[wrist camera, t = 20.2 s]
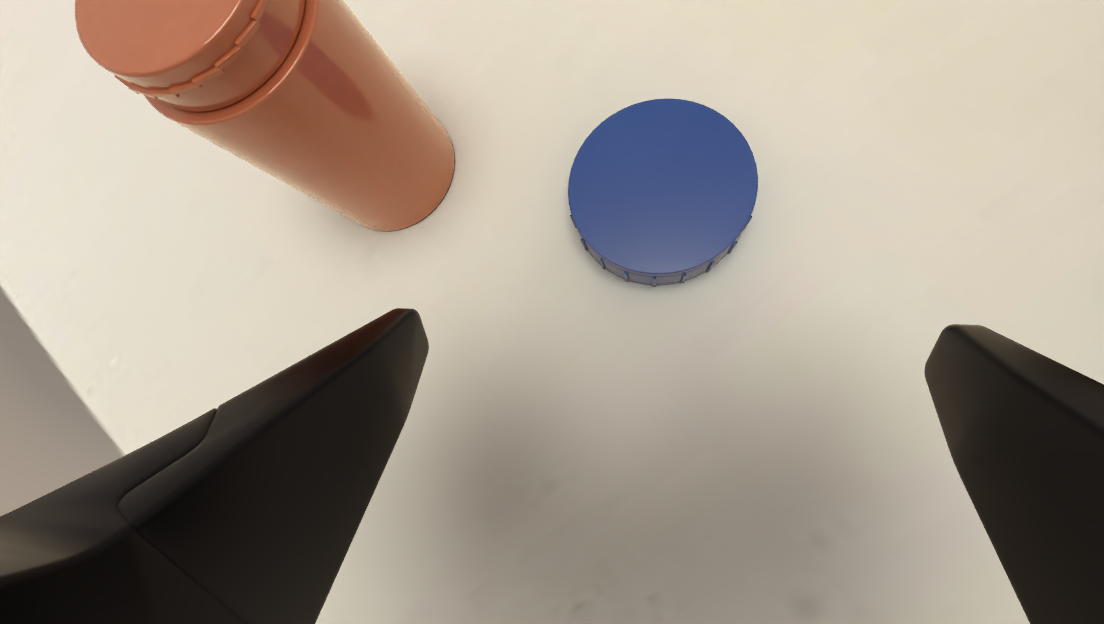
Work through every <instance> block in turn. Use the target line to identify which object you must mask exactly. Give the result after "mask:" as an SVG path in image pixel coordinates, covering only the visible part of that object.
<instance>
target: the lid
mask: <svg viewBox="0 0 1104 624" xmlns="http://www.w3.org/2000/svg"><path fill="white" fill-rule="evenodd" d="M757 190H758V175H757V168H756V163H755V160H754V156H753V153H752V151H751V149H750V147H749V145H748V143H747V141H746V139H745V138H744V136H743V135H742V134H741V132H740V131H739V130H738V129H737V128H736V127H735V125H734V124H733V123H731V122H730V121H729V120H728V119H727V118H725V117H724V116H723V115H721V114H720V113H718V112H716V111H715V110H713V109H711V108H709V107H706V106H704V105H701V104H698V103H695V102H692V101H686V100H681V99H655V100H650V101H644V102H641V103H637V104H634V105H631V106H629V107H627V108H624V109H622V110H620V111H618V112H617V113H615V114H613V115H611V116H610V117H609V118H607V119H606V120H605V121H603V122H602V123H601V124H600V125H599V126H598V127H597V128H595V129H594V130H593V132H592V133H591V134H590V135H589V136H588V137H587V139H586V140H585V142H584V143H583V145H582V146H581V148H580V149H579V151H578V153H577V155H576V157H575V160H574V162H573V165H572V168H571V172H570V177H569V186H568V197H569V205H570V210H571V214H572V215H570V216H571V219H572V221H573V223H574V225H575V227H576V228H577V229H578V232H579V234H580V236H581V238H582V239H581V241H582V243H583V245H584V248H585V250H586V251H587V250H589V252H590V253H591V254H592V256H593V257H594V258H595V259H596V260H597V261H598V262H599V263H600V264H601V266H602V268H603V269H605V268H606V269H608V270H609V271H611V272H612V273H614V274H616V275H618V276H620V277H622V278H625V281H627V282H628V281H629V280H630V281H634V282H637V283H643V284H650V285H653V286H655V285H663V284H673V283H677V282H681V283H684V281H685V280H688V279H691V278H693V277H696V276H698V275H700V274H701V273H703V272H705V271H707V272H709V271H710V270H711V268H712V267H713V266H714V265H715V264H717V263H718V262H719V261H720V260H721V259H722V258H723V257H724V256H725V255H726V254H727V253H729V254H730V253H731V251H732V250H733V248H734V246H735V245H736V243H737V241H736V240H737V238H738V237H739V235H740V234H741V232H742V231H743V230H744V229H745V227H746V226H747V224H748V223H749V221H750V220H751V218H752V216H751V214H752V211H753V208H754V205H755V201H756V196H757Z"/></svg>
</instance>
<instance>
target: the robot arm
mask: <svg viewBox="0 0 1104 624" xmlns="http://www.w3.org/2000/svg"><path fill="white" fill-rule="evenodd" d="M428 348H429V345H428V339H427V336H426V333H425V330H424V327H423V324H422V321H421V318H420V315H419V313H418V312H417V311H416V310H414V309H401V308H397V309H394V310H392V311H390V312H388V313H386V314H384V315H383V316H381V317H379V318H377V319H375V320H373V321H372V322H370V323H368V324H366V325H364V326H363V327H361V328H359V329H357V330H355V331H354V332H352V333H350V334H348V335H346V336H345V337H343V338H341V339H339V340H337V341H335V342H334V343H332V344H330V345H328V346H326V347H325V348H323V349H321V350H319V351H317V352H316V353H314V354H312V355H310V356H308V357H307V358H305V359H303V360H301V361H299V362H297V363H296V364H294V365H292V366H290V367H288V368H287V369H285V370H283V371H281V372H279V373H278V374H276V375H274V376H272V377H270V378H269V379H267V380H265V381H263V382H261V383H259V384H258V385H256V386H254V387H252V388H250V389H249V390H247V391H245V392H243V393H241V394H240V395H238V396H236V397H234V398H232V399H231V400H229V401H227V402H225V403H223V404H222V405H220V406H219V407H218V409H212V410H210V411H209V412H207V413H205V414H203V415H201V416H200V417H198V418H196V419H194V420H192V421H191V422H189V423H187V424H185V425H183V426H181V427H179V428H177V429H176V430H174V431H172V432H170V433H168V434H166V435H164V436H163V437H161V438H159V439H157V440H155V441H153V442H151V443H149V444H147V445H145V446H143V447H141V448H139V449H137V450H135V451H133V452H131V453H129V454H127V455H125V456H123V457H121V458H119V459H117V460H116V461H113V462H112V463H110V464H107V465H105V466H103V467H101V468H99V469H97V470H95V471H93V472H92V473H89V474H87V475H85V476H83V477H81V478H79V479H77V480H75V481H73V482H71V483H69V484H67V485H65V486H63V487H61V488H59V489H57V490H55V491H53V492H51V493H49V494H47V495H45V496H42V497H40V498H38V499H37V500H34V501H32V502H30V503H28V504H26V505H24V506H22V507H20V508H18V509H16V510H14V511H12V512H9V513H8V514H5V515H3V516H1V517H0V624H315V623H316V620H317V618H318V616H319V614H320V611H321V609H322V607H323V605H324V603H325V600H326V598H327V596H328V594H329V591H330V589H331V587H332V585H333V582H334V580H335V578H336V576H337V573H338V571H339V569H340V567H341V565H342V562H343V560H344V558H345V556H346V553H347V551H348V549H349V547H350V544H351V542H352V540H353V538H354V535H355V533H356V531H357V529H358V527H359V524H360V522H361V520H362V518H363V515H364V513H365V511H366V509H367V506H368V504H369V502H370V500H371V497H372V495H373V493H374V491H375V489H376V486H377V484H378V482H379V480H380V477H381V475H382V473H383V471H384V468H385V466H386V464H387V462H388V459H389V457H390V455H391V453H392V451H393V448H394V446H395V444H396V442H397V439H398V437H399V435H400V433H401V430H402V428H403V426H404V423H405V421H406V419H407V416H408V413H409V410H410V407H411V404H412V401H413V398H414V395H415V392H416V389H417V385H418V382H419V379H420V376H421V373H422V370H423V367H424V364H425V360H426V357H427V354H428ZM925 378H926V381H927V384H928V387H929V390H930V393H931V396H932V399H933V402H934V405H935V408H936V411H937V414H938V417H939V420H940V423H941V426H942V429H943V432H944V435H945V438H946V441H947V444H948V447H949V450H950V453H951V456H952V458H953V461H954V463H955V466H956V468H957V470H958V472H959V475H960V477H961V479H962V481H963V483H964V485H965V488H966V490H967V492H968V494H969V496H970V498H971V500H972V502H973V504H974V507H975V509H976V511H977V513H978V515H979V517H980V519H981V521H982V523H983V525H984V528H985V530H986V532H987V534H988V536H989V538H990V540H991V542H992V544H993V547H994V549H995V551H996V553H997V555H998V557H999V559H1000V561H1001V563H1002V565H1003V568H1004V570H1005V572H1006V574H1007V576H1008V578H1009V580H1010V582H1011V584H1012V587H1013V589H1014V591H1015V593H1016V595H1017V597H1018V599H1019V601H1020V603H1021V605H1022V608H1023V610H1024V612H1025V614H1026V616H1027V618H1028V620H1029V622H1030V624H1104V385H1103V384H1101V383H1099V382H1097V381H1095V380H1093V379H1091V378H1089V377H1087V376H1085V375H1083V374H1081V373H1079V372H1076V371H1074V370H1072V369H1070V368H1068V367H1066V366H1064V365H1062V364H1060V363H1058V362H1056V361H1054V360H1052V359H1050V358H1048V357H1046V356H1044V355H1041V354H1039V353H1037V352H1035V351H1033V350H1031V349H1029V348H1027V347H1025V346H1023V345H1021V344H1019V343H1017V342H1015V341H1013V340H1011V339H1009V338H1006V337H1004V336H1002V335H1000V334H998V333H996V332H994V331H992V330H990V329H988V328H986V327H983V326H980V325H958V324H953V325H949V326H947V327H946V328H944V329H943V331H942V332H941V334H940V336H939V338H938V340H937V342H936V344H935V346H934V348H933V350H932V352H931V354H930V356H929V358H928V360H927V362H926V365H925Z"/></svg>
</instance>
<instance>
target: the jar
mask: <svg viewBox="0 0 1104 624" xmlns="http://www.w3.org/2000/svg"><path fill="white" fill-rule="evenodd" d="M75 21H76V28H77V31H78V34H79V38H80V40H81V42H82V44H83V46H84V48H85V49H86V51H87V52H88V53H89V55H90V56H91V57H92V58H93V59H94V60H95V61H96V62H97V63H98V64H99V65H100V66H102V67H103V68H105V69H106V70H108V71H110V72H111V73H113V74H115V77H116V78H117V79H118V80H120V81H121V82H122V83H124V84H125V85H126V86H127V87H129V89H131V90H132V91H134V92H136V93H138V94H139V93H140V94H143V95H144V96H145V97H146V98H147V100H148V101H149V102H150V104H151V105H152V106H153V107H154V108H155V109H156V110H157V111H158V112H160V113H161V114H163V115H164V116H166V117H167V118H169V119H171V120H172V121H174V122H176V123H178V124H180V125H181V126H183V127H185V128H187V129H189V130H190V131H192V132H194V133H196V134H198V135H200V136H201V137H203V138H205V139H207V140H209V141H210V142H212V143H214V144H216V145H218V146H219V147H221V148H223V149H225V150H227V151H228V152H230V153H232V154H234V155H236V156H238V157H239V158H241V159H243V160H245V161H247V162H248V163H250V164H252V165H254V166H256V167H257V168H259V169H261V170H263V171H265V172H266V173H268V174H270V175H272V176H274V177H275V178H277V179H279V180H281V181H283V182H285V183H286V184H288V185H290V186H292V187H294V188H295V189H297V190H299V191H301V192H303V193H304V194H306V195H308V196H310V197H312V198H313V199H315V200H317V201H319V202H321V203H323V204H324V205H326V206H328V207H330V208H332V209H333V210H335V211H337V212H339V213H341V214H342V215H344V216H346V217H348V218H350V219H351V220H353V221H355V222H357V223H359V224H360V225H362V226H365V227H367V228H370V229H373V230H379V231H394V230H400V229H403V228H407V227H409V226H411V225H414V224H416V223H417V222H419V221H421V220H422V219H424V218H425V217H426V216H428V215H429V214H430V213H431V212H432V211H433V210H434V209H435V208H436V207H437V206H438V204H439V203H440V202H441V201H442V199H443V197H444V196H445V194H446V192H447V190H448V188H449V186H450V183H451V180H452V176H453V172H454V150H453V145H452V142H451V139H450V137H449V135H448V133H447V131H446V130H445V128H444V127H443V126H442V124H441V123H440V122H439V121H438V119H437V118H436V117H435V116H434V114H433V113H432V112H431V111H430V109H429V108H428V107H427V105H426V104H425V103H424V102H423V100H422V99H421V98H420V97H419V95H418V94H417V93H416V92H415V90H414V89H413V88H412V87H411V85H410V84H409V83H408V82H407V80H406V79H405V78H404V77H403V75H402V74H401V73H400V71H399V70H398V69H397V68H396V66H395V65H394V64H393V63H392V61H391V60H390V59H389V58H388V56H387V55H386V54H385V53H384V51H383V50H382V49H381V48H380V46H379V45H378V44H377V43H376V41H375V40H374V39H373V37H372V36H371V35H370V34H369V32H368V31H367V30H366V29H365V27H364V26H363V25H362V24H361V22H360V21H359V20H358V19H357V17H356V16H355V15H354V14H353V12H352V11H351V10H350V9H349V7H348V6H347V5H346V3H345V2H344V1H343V0H75Z"/></svg>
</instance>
